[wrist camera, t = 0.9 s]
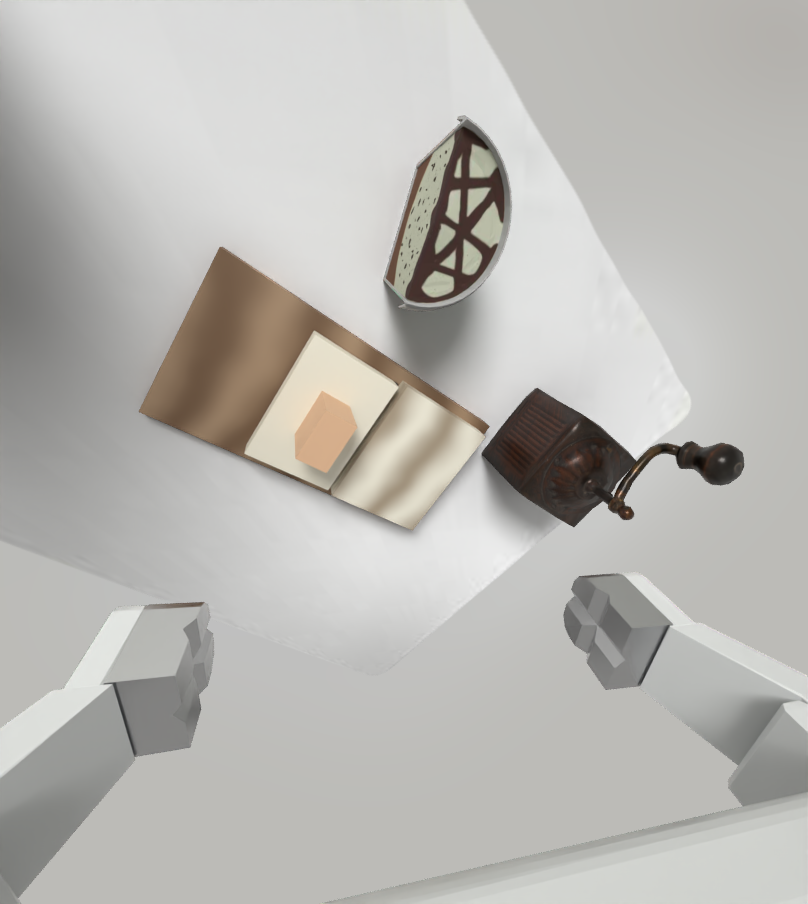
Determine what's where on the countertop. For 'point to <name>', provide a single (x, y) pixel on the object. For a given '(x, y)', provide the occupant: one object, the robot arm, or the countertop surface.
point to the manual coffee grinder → (585, 460)
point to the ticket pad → (266, 367)
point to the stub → (320, 413)
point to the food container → (451, 222)
